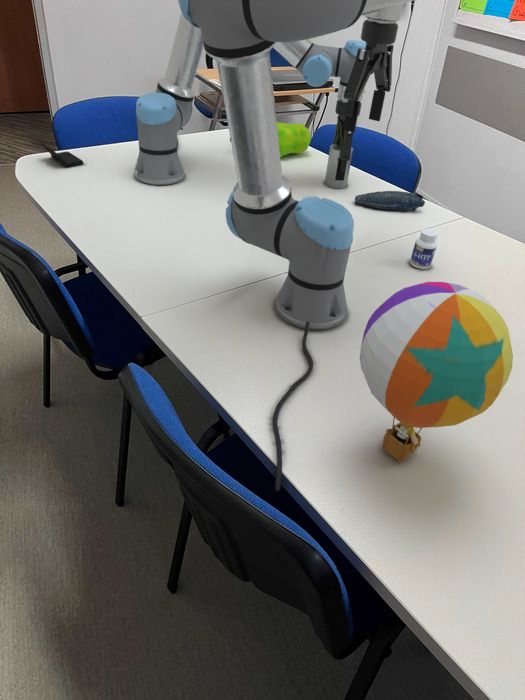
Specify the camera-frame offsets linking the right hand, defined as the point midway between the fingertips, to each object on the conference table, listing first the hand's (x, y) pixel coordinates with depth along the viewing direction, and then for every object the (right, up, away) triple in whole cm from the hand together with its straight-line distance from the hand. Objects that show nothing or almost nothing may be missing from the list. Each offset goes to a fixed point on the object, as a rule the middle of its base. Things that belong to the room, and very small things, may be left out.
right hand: (362, 125), depth 124 cm
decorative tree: (-21, +19, +68) cm, 74 cm away
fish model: (+15, -9, +37) cm, 41 cm away
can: (+1, +1, +49) cm, 49 cm away
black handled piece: (-89, +8, +46) cm, 101 cm away
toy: (-2, -70, -41) cm, 81 cm away
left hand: (+1, +4, +47) cm, 47 cm away
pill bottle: (+17, -32, +9) cm, 37 cm away
